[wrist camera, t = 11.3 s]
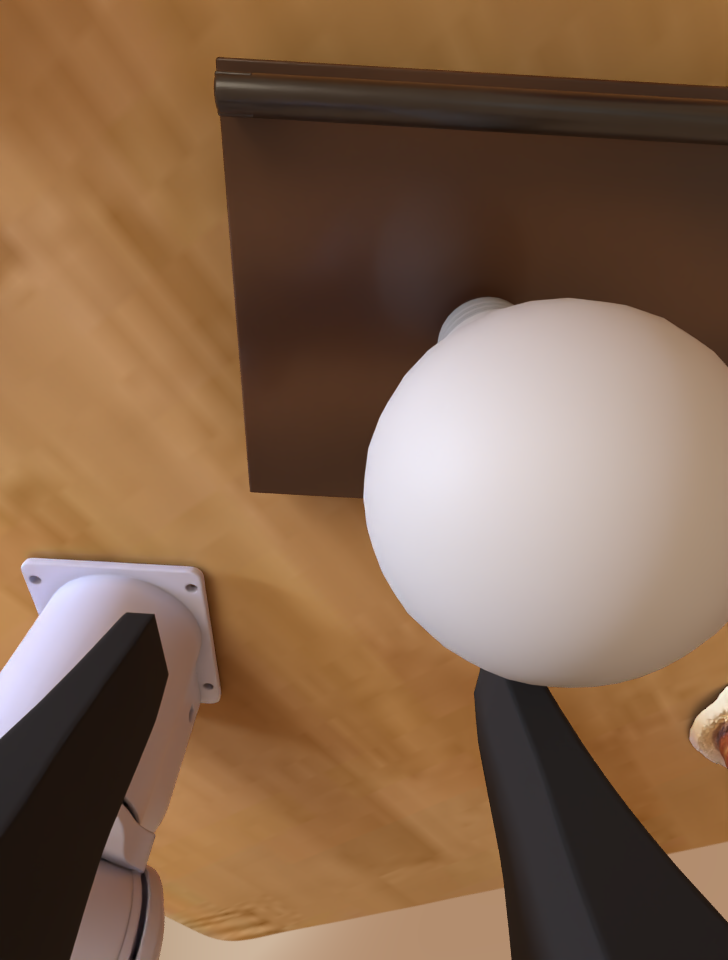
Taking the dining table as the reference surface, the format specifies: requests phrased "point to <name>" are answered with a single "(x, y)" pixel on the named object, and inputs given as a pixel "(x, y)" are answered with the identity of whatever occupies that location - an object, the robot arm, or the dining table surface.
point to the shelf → (445, 229)
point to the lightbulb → (557, 491)
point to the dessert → (712, 731)
